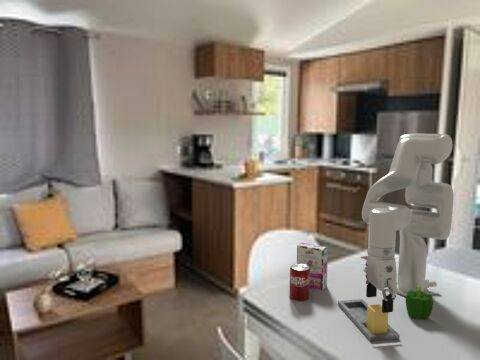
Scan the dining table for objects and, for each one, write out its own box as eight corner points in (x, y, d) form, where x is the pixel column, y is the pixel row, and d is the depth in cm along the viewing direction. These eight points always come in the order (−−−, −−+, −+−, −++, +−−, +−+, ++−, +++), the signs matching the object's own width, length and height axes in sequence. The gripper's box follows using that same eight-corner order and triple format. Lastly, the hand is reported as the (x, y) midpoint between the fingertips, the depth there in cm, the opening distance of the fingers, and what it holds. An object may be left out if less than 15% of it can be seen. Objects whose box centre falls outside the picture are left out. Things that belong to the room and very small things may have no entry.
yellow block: (379, 327, 122) (381, 304, 121) (387, 334, 117) (388, 311, 116) (366, 328, 121) (367, 305, 120) (372, 335, 117) (374, 312, 116)
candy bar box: (327, 287, 153) (328, 246, 151) (322, 291, 149) (323, 250, 147) (301, 280, 159) (302, 241, 157) (295, 284, 155) (296, 244, 153)
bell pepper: (430, 325, 124) (432, 295, 123) (402, 318, 128) (404, 289, 127) (433, 314, 131) (435, 286, 130) (407, 308, 136) (409, 281, 134)
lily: (395, 274, 170) (393, 252, 174) (383, 269, 162) (381, 246, 166) (369, 275, 178) (367, 254, 181) (356, 271, 170) (355, 249, 174)
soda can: (309, 303, 139) (310, 271, 137) (288, 301, 140) (289, 269, 139) (309, 295, 146) (310, 264, 144) (290, 293, 148) (290, 262, 146)
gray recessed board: (362, 304, 138) (362, 299, 138) (399, 341, 115) (399, 335, 115) (337, 306, 137) (338, 300, 137) (370, 343, 114) (370, 337, 113)
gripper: (409, 260, 108) (406, 317, 111) (378, 240, 125) (376, 290, 128) (384, 262, 107) (381, 320, 110) (356, 241, 124) (354, 292, 127)
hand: (379, 304), depth 119 cm, fingers open, 9 cm apart
